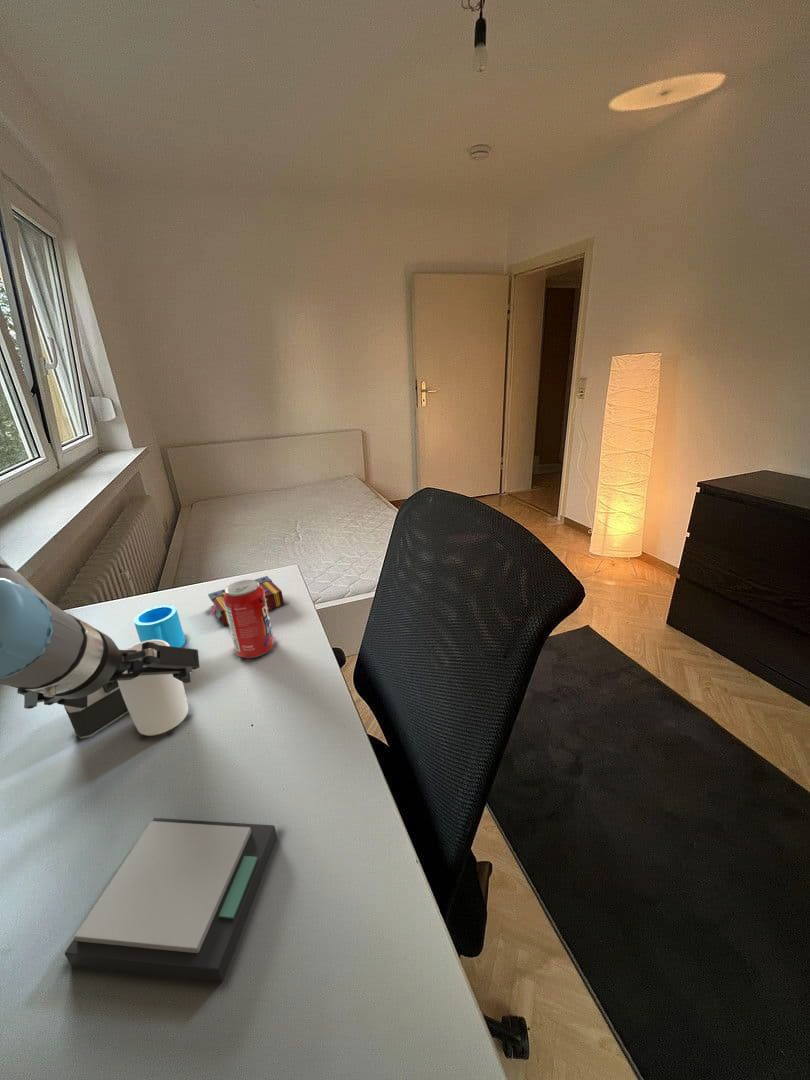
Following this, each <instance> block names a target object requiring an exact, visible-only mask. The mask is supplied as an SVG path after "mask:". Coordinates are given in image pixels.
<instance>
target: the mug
mask: <svg viewBox="0 0 810 1080" xmlns="http://www.w3.org/2000/svg"><path fill="white" fill-rule="evenodd" d="M133 624H134V626H135V630H136V634H137V636H138V639H139V641H140V642H144V641H148V640H163V641H165V642H167V643H168V644H169V645H170V647H179V648H183V646H184V645H185V643H186V637H185V634H184V631H183V626H182V624H181V620H180V616H179V613H178V610H177V607H176V606H174V605H169V604H164V605H157V606H153V607H150V608H148V609H145V610H143V611H142V612H140V613H138V614H137V615H136V616H135V617H134V618H133ZM140 642H139V643H140Z"/></svg>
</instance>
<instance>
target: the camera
mask: <svg viewBox="0 0 810 1080" xmlns="http://www.w3.org/2000/svg"><path fill="white" fill-rule="evenodd" d="M63 707H64V710H65V712H66V714H67V716H68V718H69V721H70V723H71V726H72V728H73V731H74V733H75V735H76V736H77V737H78V738H80V739H86V738H91V737H93V736H94V735H96V734H97V733H99V732H100V731H101V730H103V729H105V728H106V727H108V726H110V725H111V724H113V723H114V722H116V721H117V720H118V719H120V718H122V717H124V716H125V715H126V714H128V713H129V711H128V709H127V706H126V704H125V701H124V699H123V696H122V694H121V691H120V688H119V685H118V681H113V682H111V683H106V684H105V685H104V686H103V687H101V688H100V689H99V690H97V691H96V692H94V693H92V694H90V695H88V696H87V707H86V708H82V709H81V708H76V707H71V706H66V705H63Z"/></svg>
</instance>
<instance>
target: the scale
mask: <svg viewBox="0 0 810 1080" xmlns="http://www.w3.org/2000/svg"><path fill="white" fill-rule="evenodd" d="M277 839H278V835H277V830H276V826H275V824H258V823H245V822H243V823H242V822H227V821H211V820H210V821H209V820H194V819H193V820H192V819H176V818H161V817H154V818H153V819H152V821H151V820H150V822H149V824H148V825H147V827H146V828H145V830H144V831H143V833H142V834H141V836H140V837H139V838H138V840H137V841H136V843H135V845H134V846H133V848H132V849H131V851H130V852H129V854H128V855H127V857H126V858H125V860H124V861H123V863H122V864H121V866H120V867H119V869H118V870H117V871H116V873H115V874H114V876H113V878H111V881H110V882H109V883H108V885H107V886H106V888H105V890H104V891H103V893H102V894H101V895H100V897H99V899H98V900H97V902H96V903H95V905H94V906H93V908H92V909H91V911H90V912H89V914H88V915H87V916H86V918H85V920H84V921H83V923H82V924H81V926H80V927H79V929H78V930H77V932H76V933H75V935H74V936H73V937H74V938H73V939H72V941H71V942H70V944H69V945H68V947H67V948H66V950H65V951H64V956H65V958H66V959H67V960H68V962H69V964H70V966H71V967H76V968H77V967H78V968H87V969H96V970H106V971H115V972H123V973H135V974H143V975H153V976H159V977H160V976H162V977H171V978H180V979H187V980H197V981H198V980H199V981H206V982H207V981H208V982H215V983H216V982H217V983H223V982H224V980H225V977H226V974H227V971H228V969H229V966H230V963H231V961H232V958H233V955H234V953H235V950H236V948H237V945H238V942H239V939H240V937H241V934H242V931H243V930H244V927H245V924H246V922H247V918H248V916H249V914H250V910H251V908H252V905H253V903H254V900H255V897H256V894H257V892H258V890H259V887H260V884H261V882H262V879H263V876H264V873H265V871H266V868H267V865H268V863H269V860H270V857H271V854H272V852H273V850H274V847H275V844H276V842H277Z"/></svg>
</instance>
